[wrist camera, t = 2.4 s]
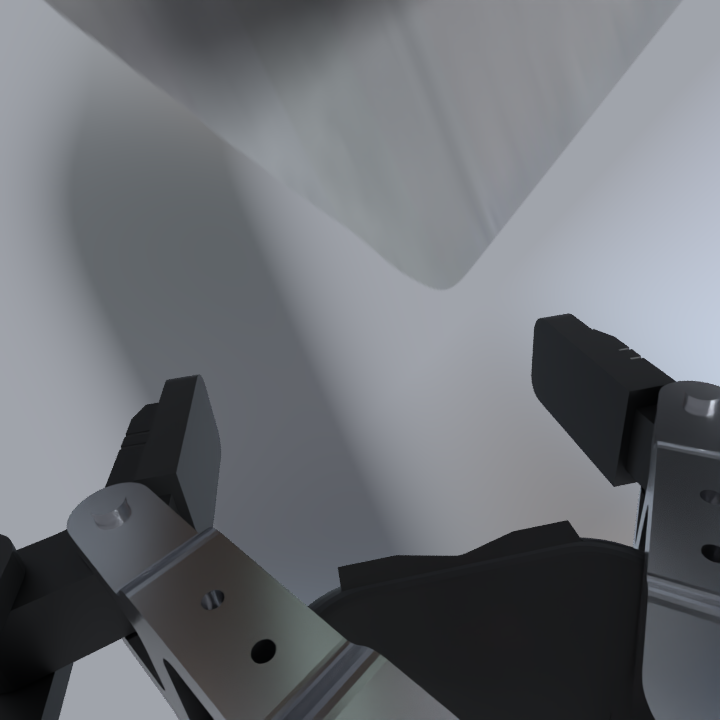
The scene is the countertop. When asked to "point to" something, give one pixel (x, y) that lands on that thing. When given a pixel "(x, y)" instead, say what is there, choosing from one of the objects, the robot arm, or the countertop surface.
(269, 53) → the countertop surface
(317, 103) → the countertop surface
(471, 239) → the countertop surface
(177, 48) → the countertop surface
